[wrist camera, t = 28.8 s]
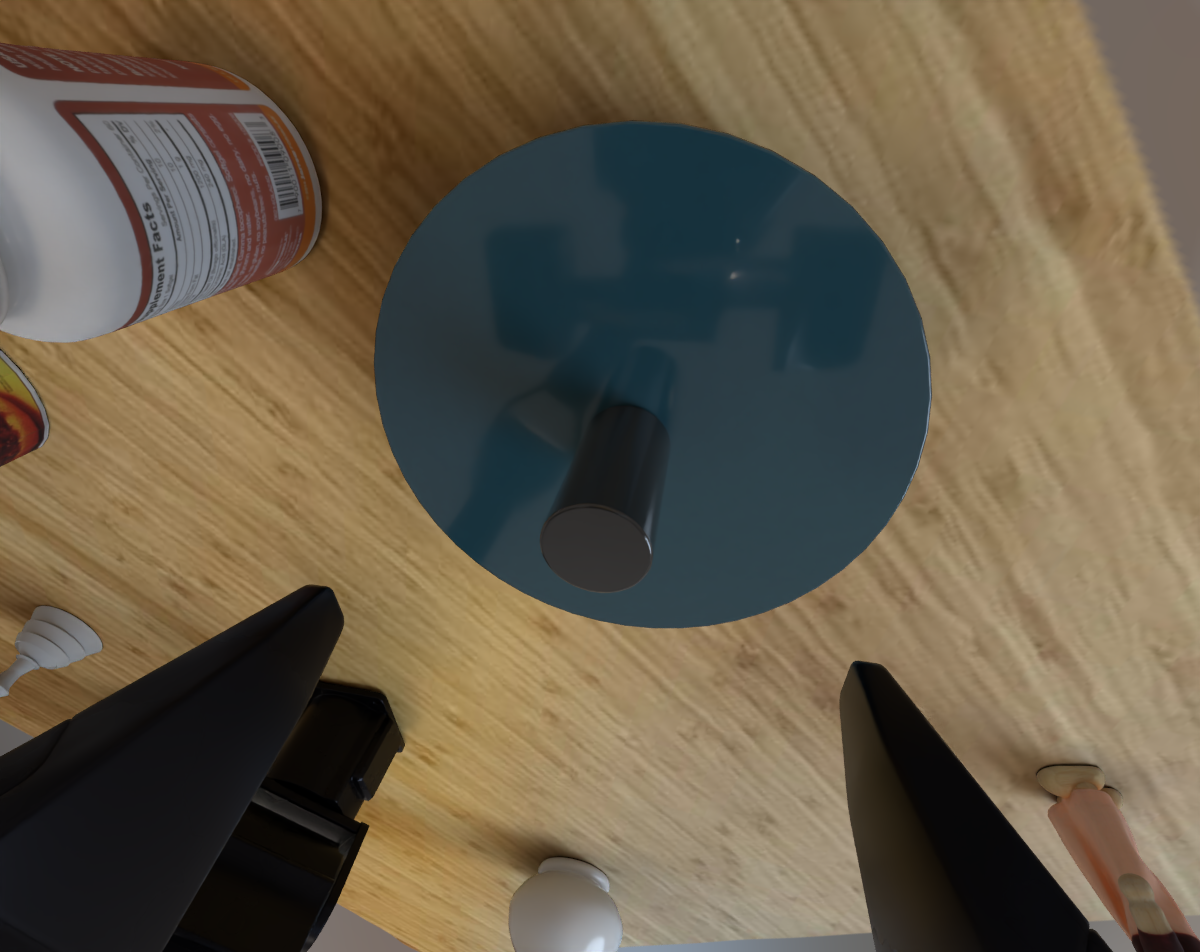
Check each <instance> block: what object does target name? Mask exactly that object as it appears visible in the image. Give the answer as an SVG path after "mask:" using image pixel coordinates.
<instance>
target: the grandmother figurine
mask: <svg viewBox="0 0 1200 952" xmlns="http://www.w3.org/2000/svg"><path fill="white" fill-rule="evenodd" d="M1037 779H1038V782H1039V783H1040V784H1041V785H1042V787H1043V788H1044V789H1046V790H1047V791H1048V792H1050V793H1052V794H1054V795H1056V796H1058V798H1057V804H1055V805H1053V806H1052V807H1050V809H1049V810H1048V817H1049V819H1050V821H1051V822H1052V824H1053V826H1054V828H1055V829H1056V831H1057V833H1058V835H1059V836H1060V838H1061V840H1062V842H1063V843H1064V845H1065V847H1066V848H1067V850H1068V851H1069V853H1070V855H1071V856H1072V858H1073V859H1074V861H1075V863H1076V864H1077V866H1078V867H1079V869H1080V870H1081V872H1082V873H1083V875H1084V876H1085V878H1086V879H1087V881H1088V882H1089V883H1090V885H1091V886H1092V888H1093V889H1094V891H1095V892H1096V894H1097V895H1098V897H1099V898H1100V900H1101V901H1102V903H1103V904H1104V906H1105V907H1106V908H1107V910H1108V911H1109V912H1110V914H1111V915H1112V916H1113V918H1114V919H1115V921H1116V922H1117V923H1118V924H1119V926H1120V927H1121V928H1122V929H1123V931H1124V932H1125V933H1126V935H1127V936H1128V937H1129V939H1130V940H1131V941H1132V944H1133V946H1134V948H1135V950H1136V951H1137V952H1200V940H1199V939H1198V938H1197V936H1196V935H1195V934H1194V932H1193V930H1192V929H1191V927H1190V925H1189V924H1188V922H1187V920H1186V918H1185V917H1184V915H1183V913H1182V912H1181V910H1180V909H1179V907H1178V906H1177V904H1176V902H1175V901H1174V899H1173V898H1172V896H1171V895H1170V894H1169V892H1168V891H1167V889H1166V888H1165V887H1164V885H1163V884H1162V883H1161V882H1160V880H1159V879H1158V878H1157V877H1156V876H1155V875H1154V873H1153V872H1152V871H1151V870H1150V869H1149V868H1148V867H1147V865H1146V864H1145V863H1144V862H1143V860H1142V859H1141V857H1140V856H1139V852H1138V848H1137V845H1136V842H1135V839H1134V837H1133V834H1132V832H1131V830H1130V828H1129V826H1128V824H1127V822H1126V820H1125V818H1124V816H1123V814H1122V813H1121V811H1120V809H1121V808H1122V805H1123V798H1122V795H1121V794H1120V793H1119V792H1118V791H1117V790H1115V789H1112V788H1103V786H1104V784H1105V776H1104V774H1103V772H1102V770H1101V769H1099V768H1097V767H1093V766H1052V767H1048V768H1044V769H1042V770H1040V771H1039V772H1038V774H1037Z"/></svg>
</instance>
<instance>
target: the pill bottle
mask: <svg viewBox="0 0 1200 952" xmlns="http://www.w3.org/2000/svg"><path fill="white" fill-rule="evenodd" d="M321 219H322V200H321V191H320V185H319V181H318V177H317V174H316V170H315V167H314V164H313V161H312V159H311V156H310V154H309V152H308V150H307V148H306V146H305V144H304V142H303V140H302V138H301V136H300V135H299V133H298V131H297V130H296V128H295V127H294V125H293V124H292V123H291V122H290V120H289V119H288V118H287V116H286V115H285V114H284V113H283V112H282V111H281V110H280V108H279V107H278V106H277V105H276V104H275V103H274V102H273V101H272V100H271V99H270V98H269V97H267V96H266V95H265V94H264V93H263V92H262V91H260V90H259V89H258V88H257V87H255V86H254V85H252V84H251V83H249V82H248V81H246V80H245V79H243V78H241V77H239V76H237V75H235V74H233V73H231V72H229V71H226V70H224V69H221V68H218V67H214V66H210V65H206V64H201V63H195V62H189V61H178V60H167V59H155V58H144V57H132V56H121V55H110V54H101V53H91V52H81V51H69V50H59V49H51V48H41V47H35V46H20V45H12V44H5V43H0V330H1V331H4V332H7V333H9V334H12V335H16V336H19V337H23V338H27V339H32V340H37V341H44V342H77V341H82V340H87V339H91V338H94V337H98V336H101V335H104V334H107V333H111V332H114V331H117V330H120V329H122V328H125V327H128V326H131V325H134V324H136V323H139V322H142V321H144V320H147V319H150V318H153V317H156V316H158V315H161V314H164V313H167V312H169V311H172V310H175V309H178V308H181V307H184V306H186V305H189V304H192V303H195V302H198V301H201V300H204V299H206V298H209V297H212V296H214V295H217V294H220V293H223V292H226V291H229V290H232V289H234V288H237V287H240V286H243V285H246V284H249V283H251V282H254V281H257V280H260V279H263V278H266V277H269V276H272V275H274V274H277V273H280V272H283V271H284V270H286V269H289V268H291V267H293V266H295V265H296V264H298V263H299V262H300V261H302V260H303V259H304V258H305V257H306V256H307V254H308V253H309V252H310V251H311V249H312V247H313V246H314V244H315V242H316V240H317V237H318V234H319V230H320V225H321Z"/></svg>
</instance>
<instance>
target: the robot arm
mask: <svg viewBox="0 0 1200 952" xmlns="http://www.w3.org/2000/svg"><path fill="white" fill-rule="evenodd" d="M343 626H344V616H343V613H342V611H341V608H340V606H339V604H338V601H337V599H336V596H335V594H334V592H333V590H332V589H331V588H329V587H327V586H320V585H306V586H304V587H302V588H300V589H298V590H296V591H295V592H293V593H291V594H289V595H287V596H286V597H284V598H282V599H280V600H279V601H277V602H275V603H273V604H271V605H270V606H268V607H266V608H264V609H263V610H261V611H259V612H257V613H255V614H254V615H252V616H250V617H248V618H247V619H245V620H243V621H241V622H240V623H238V624H236V625H234V626H232V627H231V628H229V629H227V630H225V631H224V632H222V633H220V634H218V635H216V636H215V637H213V638H211V639H209V640H208V641H206V642H204V643H202V644H200V645H199V646H197V647H195V648H193V649H192V650H190V651H188V652H186V653H185V654H183V655H181V656H179V657H177V658H176V659H174V660H172V661H170V662H169V663H167V664H165V665H163V666H161V667H160V668H158V669H156V670H154V671H153V672H151V673H149V674H147V675H145V676H144V677H142V678H140V679H138V680H137V681H135V682H133V683H131V684H129V685H128V686H126V687H124V688H122V689H121V690H119V691H117V692H115V693H113V694H112V695H110V696H108V697H106V698H105V699H103V700H101V701H99V702H97V703H96V704H94V705H92V706H90V707H89V708H87V709H85V710H83V711H81V712H80V713H78V714H76V715H75V716H74V717H73V718H72V719H67V720H65V721H63V722H62V723H60V724H58V725H56V726H55V727H53V728H51V729H49V730H48V731H46V732H44V733H42V734H41V735H39V736H37V737H35V738H33V739H31V740H30V741H28V742H26V743H24V744H22V745H21V746H19V747H17V748H15V749H13V750H11V751H10V752H8V753H6V754H4V755H2V756H0V952H307V951H308V949H309V948H310V947H311V946H312V944H313V943H314V942H315V940H316V939H317V937H318V935H319V933H320V932H321V930H322V929H323V927H324V925H325V924H326V922H327V920H328V918H329V916H330V915H331V912H332V911H333V909H334V907H335V905H336V903H337V900H338V898H339V896H340V894H341V892H342V889H343V887H344V884H345V882H346V880H347V877H348V875H349V873H350V870H351V868H352V866H353V863H354V861H355V859H356V856H357V854H358V852H359V849H360V847H361V845H362V842H363V840H364V837H365V835H366V833H367V830H368V828H369V825H367V824H365V823H363V822H361V823H359V822H357V821H355V820H354V819H355V817H356V815H357V813H358V811H359V809H360V807H361V805H362V803H363V802H364V800H366V801H369V800H370V799H372V798H373V796H374V794H375V793H376V791H377V789H378V787H379V785H380V783H381V781H382V779H383V777H384V775H385V773H386V771H387V769H388V767H389V765H390V764H391V762H392V760H393V758H394V756H395V754H396V752H402V751H403V749H404V747H405V743H404V741H403V738H402V736H401V733H400V731H399V728H398V726H397V723H396V721H395V718H394V716H393V713H392V711H391V708H390V705H389V703H388V700H387V698H386V697H385V696H384V695H383V694H381V693H378V692H373V691H367V690H361V689H355V688H350V687H344V686H338V685H333V684H327V683H321V682H318V681H319V679H320V677H321V675H322V673H323V670H324V668H325V666H326V664H327V662H328V660H329V658H330V655H331V653H332V651H333V649H334V647H335V645H336V643H337V640H338V638H339V636H340V634H341V632H342V629H343ZM839 705H840V719H841V731H842V743H843V754H844V766H845V778H846V790H847V800H848V809H849V815H850V821H851V827H852V832H853V837H854V842H855V847H856V852H857V857H858V862H859V867H860V873H861V878H862V883H863V888H864V893H865V898H866V903H867V908H868V913H869V919H870V924H871V929H872V934H873V939H874V944H875V949H876V952H1113V951H1112V950H1111V949H1110V948H1109V946H1108V945H1107V944H1106V943H1105V941H1104V940H1103V939H1102V938H1101V936H1100V935H1099V934H1098V933H1097V932H1096V931H1095V930H1093V929H1089V922H1088V921H1087V919H1086V918H1085V917H1084V915H1083V914H1082V913H1081V912H1080V910H1079V909H1078V908H1077V907H1076V905H1075V904H1074V903H1073V902H1072V900H1071V899H1070V898H1069V897H1068V895H1067V894H1066V893H1065V892H1064V890H1063V889H1062V888H1061V887H1060V885H1059V884H1058V883H1057V882H1056V880H1055V879H1054V878H1053V877H1052V875H1051V874H1050V873H1049V872H1048V870H1047V869H1046V868H1045V867H1044V865H1043V864H1042V863H1041V862H1040V860H1039V859H1038V858H1037V857H1036V855H1035V854H1034V853H1033V852H1032V850H1031V849H1030V848H1029V847H1028V845H1027V844H1026V843H1025V842H1024V840H1023V839H1022V838H1021V837H1020V835H1019V834H1018V833H1017V832H1016V830H1015V829H1014V828H1013V827H1012V825H1011V824H1010V823H1009V822H1008V820H1007V819H1006V818H1005V817H1004V815H1003V814H1002V813H1001V812H1000V810H999V809H998V808H997V807H996V805H995V804H994V803H993V802H992V800H991V799H990V798H989V797H988V795H987V794H986V793H985V792H984V790H983V789H982V788H981V787H980V785H979V784H978V783H977V782H976V780H975V779H974V778H973V777H972V775H971V774H970V773H969V772H968V770H967V769H966V768H965V767H964V765H963V764H962V763H961V762H960V760H959V759H958V758H957V757H956V755H955V754H954V753H953V752H952V750H951V749H950V748H949V747H948V745H947V744H946V743H945V742H944V740H943V739H942V738H941V737H940V735H939V734H938V733H937V732H936V730H935V729H934V728H933V727H932V725H931V724H930V723H929V722H928V720H927V719H926V718H925V717H924V715H923V714H922V713H921V712H920V710H919V709H918V708H917V707H916V705H915V704H914V703H913V702H912V700H911V699H910V698H909V697H908V695H907V694H906V693H905V692H904V690H903V689H902V688H901V687H900V685H899V684H898V683H897V682H896V680H895V679H894V678H893V677H892V675H891V674H890V673H889V672H888V670H887V669H886V668H885V667H884V666H882V665H881V664H877V663H871V662H864V661H855V662H853V663H852V664H851V666H850V669H849V671H848V674H847V677H846V679H845V682H844V685H843V687H842V690H841V693H840V704H839Z"/></svg>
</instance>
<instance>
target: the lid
mask: <svg viewBox="0 0 1200 952" xmlns="http://www.w3.org/2000/svg"><path fill="white" fill-rule="evenodd" d="M374 371H375V384H376V395H377V400H378V405H379V410H380V414H381V419H382V424H383V427H384V430H385V433H386V436H387V439H388V442H389V444H390V447H391V450H392V453H393V455H394V457H395V459H396V461H397V463H398V465H399V468H400V470H401V472H402V474H403V476H404V478H405V480H406V481H407V483H408V484H409V486H410V488H411V489H412V491H413V493H414V494H415V496H416V497H417V499H418V501H419V502H420V503H421V505H422V506H423V507H424V509H425V510H426V511H427V512H428V514H429V515H430V516H431V518H432V519H433V520H434V522H435V523H436V524H437V525H438V526H439V527H440V528H441V529H442V530H443V532H444V533H445V534H446V535H447V536H448V537H449V538H450V539H451V540H452V541H453V542H454V543H455V544H456V545H457V546H458V547H459V548H460V549H462V550H463V551H464V552H465V553H466V554H467V555H469V556H470V557H471V558H472V559H473V560H474V561H475V562H477V563H478V564H479V565H481V566H482V567H484V568H485V569H486V570H488V571H489V572H491V573H492V574H493V575H495V576H496V577H497V578H499V579H501V580H502V581H504V582H506V583H507V584H509V585H511V586H512V587H514V588H516V589H518V590H519V591H521V592H523V593H525V594H527V595H529V596H531V597H533V598H535V599H538V600H540V601H542V602H544V603H546V604H548V605H551V606H554V607H556V608H559V609H562V610H565V611H567V612H570V613H573V614H576V615H580V616H584V617H587V618H591V619H594V620H598V621H603V622H609V623H614V624H620V625H625V626H635V627H646V628H689V627H700V626H710V625H715V624H721V623H726V622H732V621H737V620H740V619H744V618H747V617H751V616H754V615H758V614H761V613H764V612H767V611H769V610H772V609H774V608H777V607H779V606H782V605H784V604H787V603H789V602H791V601H793V600H795V599H797V598H799V597H801V596H803V595H804V594H806V593H808V592H810V591H812V590H814V589H815V588H817V587H819V586H820V585H822V584H823V583H825V582H826V581H827V580H829V579H830V578H832V577H833V576H835V575H836V574H837V573H839V572H840V571H842V570H843V569H844V568H845V567H846V566H847V565H849V564H850V563H851V562H852V561H853V560H854V559H855V558H856V557H857V556H859V555H860V554H861V553H862V552H863V551H864V550H865V549H866V548H867V547H868V546H869V545H870V543H871V542H872V541H873V540H874V539H875V538H876V536H877V535H878V534H879V533H880V532H881V531H882V529H883V528H884V527H885V526H886V525H887V523H888V522H889V520H890V518H891V517H892V515H893V514H894V512H895V511H896V509H897V508H898V506H899V504H900V503H901V501H902V500H903V498H904V496H905V494H906V492H907V490H908V488H909V485H910V483H911V481H912V479H913V477H914V474H915V472H916V470H917V468H918V465H919V461H920V458H921V454H922V451H923V447H924V444H925V440H926V436H927V433H928V425H929V417H930V408H931V399H932V386H931V366H930V355H929V350H928V345H927V341H926V336H925V332H924V327H923V323H922V318H921V316H920V313H919V311H918V308H917V306H916V303H915V301H914V298H913V296H912V293H911V291H910V288H909V286H908V283H907V281H906V279H905V277H904V275H903V274H902V272H901V270H900V269H899V267H898V265H897V264H896V262H895V261H894V259H893V257H892V256H891V254H890V252H889V251H888V249H887V247H886V246H885V244H884V243H883V241H882V240H881V239H880V238H879V236H878V235H877V234H876V233H875V232H874V231H873V230H872V228H871V227H870V226H869V225H868V224H867V223H866V221H865V220H864V219H863V218H862V217H861V216H860V215H859V213H858V212H857V211H856V210H855V209H854V208H853V207H852V206H851V205H850V204H849V203H848V202H846V201H845V200H844V199H843V198H842V197H840V196H839V195H838V194H837V193H836V192H834V191H833V190H832V189H831V188H830V187H828V186H827V185H826V184H825V183H824V182H822V181H821V180H820V179H819V178H817V177H816V176H815V175H813V174H812V173H810V172H808V171H806V170H805V169H803V168H801V167H800V166H798V165H796V164H795V163H793V162H791V161H789V160H788V159H786V158H784V157H783V156H781V155H779V154H777V153H776V152H774V151H772V150H770V149H767V148H765V147H762V146H760V145H757V144H754V143H752V142H749V141H747V140H744V139H742V138H739V137H736V136H734V135H731V134H729V133H725V132H720V131H716V130H711V129H707V128H702V127H697V126H693V125H688V124H683V123H673V122H655V121H637V120H630V121H620V122H610V123H601V124H591V125H583V126H579V127H575V128H572V129H568V130H564V131H560V132H557V133H553V134H549V135H545V136H542V137H539V138H536V139H534V140H532V141H530V142H527V143H525V144H523V145H521V146H519V147H516V148H514V149H512V150H510V151H507V152H505V153H503V154H501V155H499V156H497V157H496V158H494V159H493V160H491V161H490V162H488V163H487V164H485V165H484V166H482V167H481V168H479V169H478V170H476V171H475V172H473V173H472V174H470V175H469V176H467V177H465V178H464V179H463V180H462V181H461V182H460V183H459V184H458V185H457V186H455V187H454V188H453V189H452V190H451V191H450V192H449V193H448V194H447V195H446V196H445V197H444V198H442V199H441V200H440V201H439V202H438V203H437V204H436V205H435V206H434V207H433V209H432V210H431V211H430V213H429V214H428V215H427V216H426V218H425V219H424V220H423V221H422V223H421V224H420V225H419V227H418V228H417V229H416V230H415V232H414V233H413V234H412V236H411V238H410V239H409V241H408V243H407V245H406V247H405V248H404V250H403V252H402V254H401V256H400V257H399V259H398V261H397V263H396V265H395V266H394V269H393V272H392V275H391V277H390V280H389V283H388V286H387V288H386V291H385V294H384V296H383V299H382V304H381V309H380V314H379V319H378V324H377V328H376V337H375V354H374Z"/></svg>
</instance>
